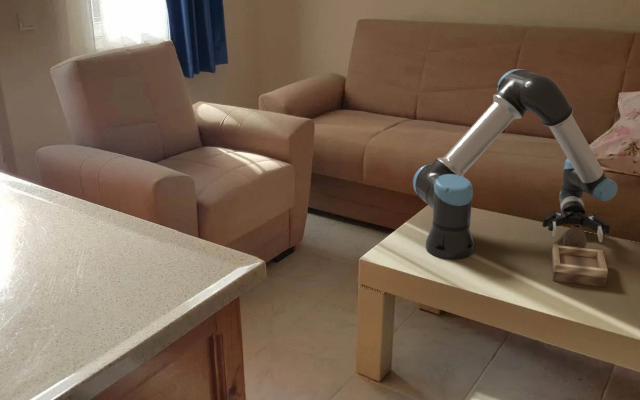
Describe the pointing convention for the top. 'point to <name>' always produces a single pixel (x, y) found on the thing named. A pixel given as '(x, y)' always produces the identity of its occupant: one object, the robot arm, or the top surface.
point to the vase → (575, 237)
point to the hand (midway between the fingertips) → (577, 235)
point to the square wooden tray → (578, 265)
